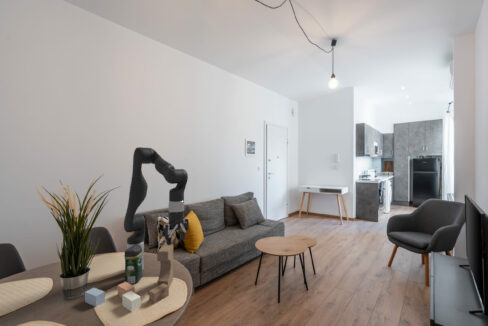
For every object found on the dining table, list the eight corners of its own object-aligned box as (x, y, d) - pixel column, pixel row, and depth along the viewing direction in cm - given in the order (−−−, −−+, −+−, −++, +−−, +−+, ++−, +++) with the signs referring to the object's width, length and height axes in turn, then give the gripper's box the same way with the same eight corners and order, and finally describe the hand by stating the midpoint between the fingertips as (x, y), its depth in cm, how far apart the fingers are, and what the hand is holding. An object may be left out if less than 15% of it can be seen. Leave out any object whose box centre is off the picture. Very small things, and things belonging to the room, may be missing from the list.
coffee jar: (130, 276, 131) (130, 243, 131) (144, 275, 131) (144, 243, 131) (121, 285, 122) (121, 250, 121) (136, 285, 122) (136, 250, 122)
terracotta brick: (117, 295, 113) (117, 285, 113) (125, 291, 116) (125, 281, 116) (126, 300, 108) (126, 290, 108) (134, 296, 112) (134, 286, 111)
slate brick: (85, 302, 107) (85, 291, 107) (93, 297, 110) (93, 287, 110) (96, 307, 103) (96, 296, 103) (104, 302, 107) (104, 291, 107)
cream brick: (122, 305, 105) (122, 294, 105) (130, 301, 108) (130, 290, 108) (131, 312, 100) (131, 301, 100) (140, 307, 103) (140, 296, 103)
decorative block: (167, 290, 117) (167, 251, 116) (156, 290, 116) (156, 251, 116) (173, 279, 128) (173, 243, 127) (163, 279, 127) (163, 243, 127)
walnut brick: (154, 304, 106) (154, 293, 106) (149, 301, 108) (149, 290, 108) (168, 295, 112) (168, 285, 112) (163, 293, 115) (163, 283, 115)
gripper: (182, 206, 121) (182, 236, 121) (159, 211, 109) (158, 244, 109) (192, 208, 116) (192, 239, 117) (169, 213, 105) (169, 248, 105)
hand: (175, 242), depth 113 cm, fingers open, 8 cm apart
